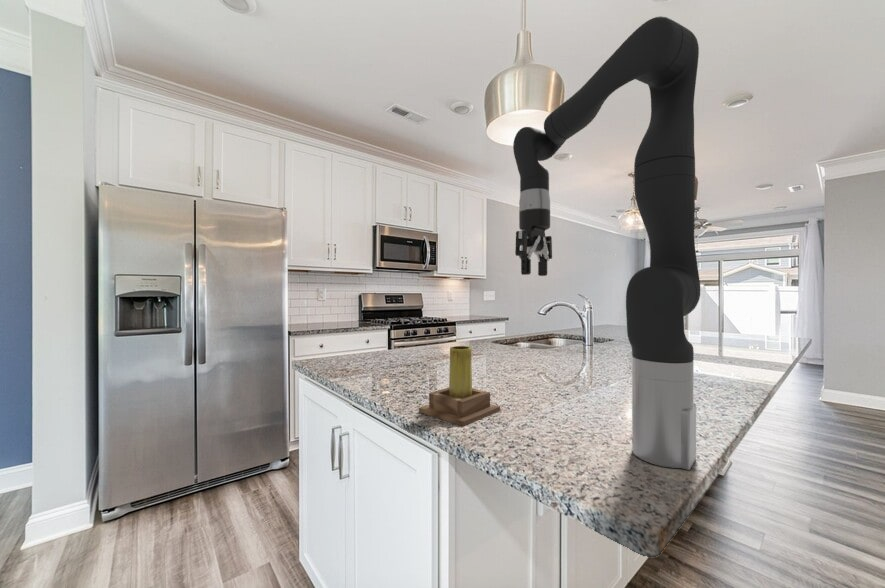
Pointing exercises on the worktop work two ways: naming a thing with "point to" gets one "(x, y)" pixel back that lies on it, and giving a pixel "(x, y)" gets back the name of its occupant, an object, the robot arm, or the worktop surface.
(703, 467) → the worktop surface
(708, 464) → the worktop surface
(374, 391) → the worktop surface
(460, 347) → the vase
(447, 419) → the socket block
